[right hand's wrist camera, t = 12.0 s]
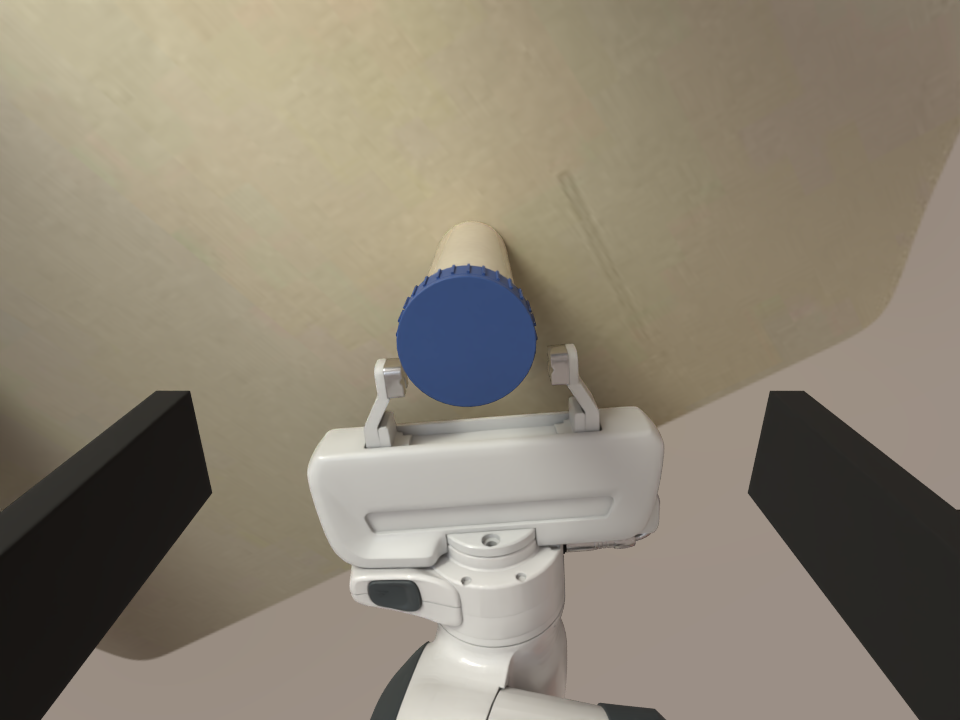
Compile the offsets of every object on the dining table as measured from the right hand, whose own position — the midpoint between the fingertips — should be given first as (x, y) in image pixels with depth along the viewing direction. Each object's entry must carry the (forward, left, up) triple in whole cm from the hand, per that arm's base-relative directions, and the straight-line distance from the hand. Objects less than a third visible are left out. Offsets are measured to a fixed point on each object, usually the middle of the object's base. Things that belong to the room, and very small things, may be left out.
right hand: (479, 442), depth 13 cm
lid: (-1, 0, -8) cm, 8 cm away
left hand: (0, -4, -17) cm, 17 cm away
